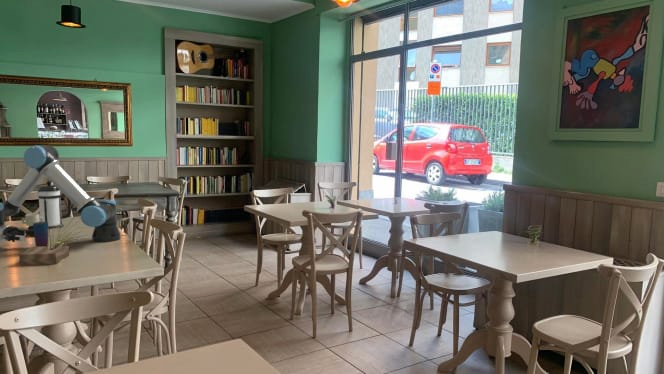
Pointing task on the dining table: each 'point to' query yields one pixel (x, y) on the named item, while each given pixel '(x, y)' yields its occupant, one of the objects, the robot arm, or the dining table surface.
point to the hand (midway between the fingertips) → (37, 236)
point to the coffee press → (51, 204)
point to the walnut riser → (43, 255)
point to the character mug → (31, 220)
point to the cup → (41, 233)
